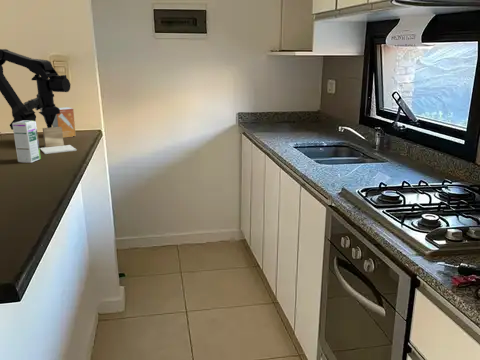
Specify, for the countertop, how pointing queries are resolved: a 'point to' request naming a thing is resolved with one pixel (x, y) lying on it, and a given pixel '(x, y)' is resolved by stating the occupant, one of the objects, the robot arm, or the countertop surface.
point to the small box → (65, 122)
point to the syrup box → (26, 141)
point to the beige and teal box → (53, 137)
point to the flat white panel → (57, 149)
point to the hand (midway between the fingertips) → (49, 128)
